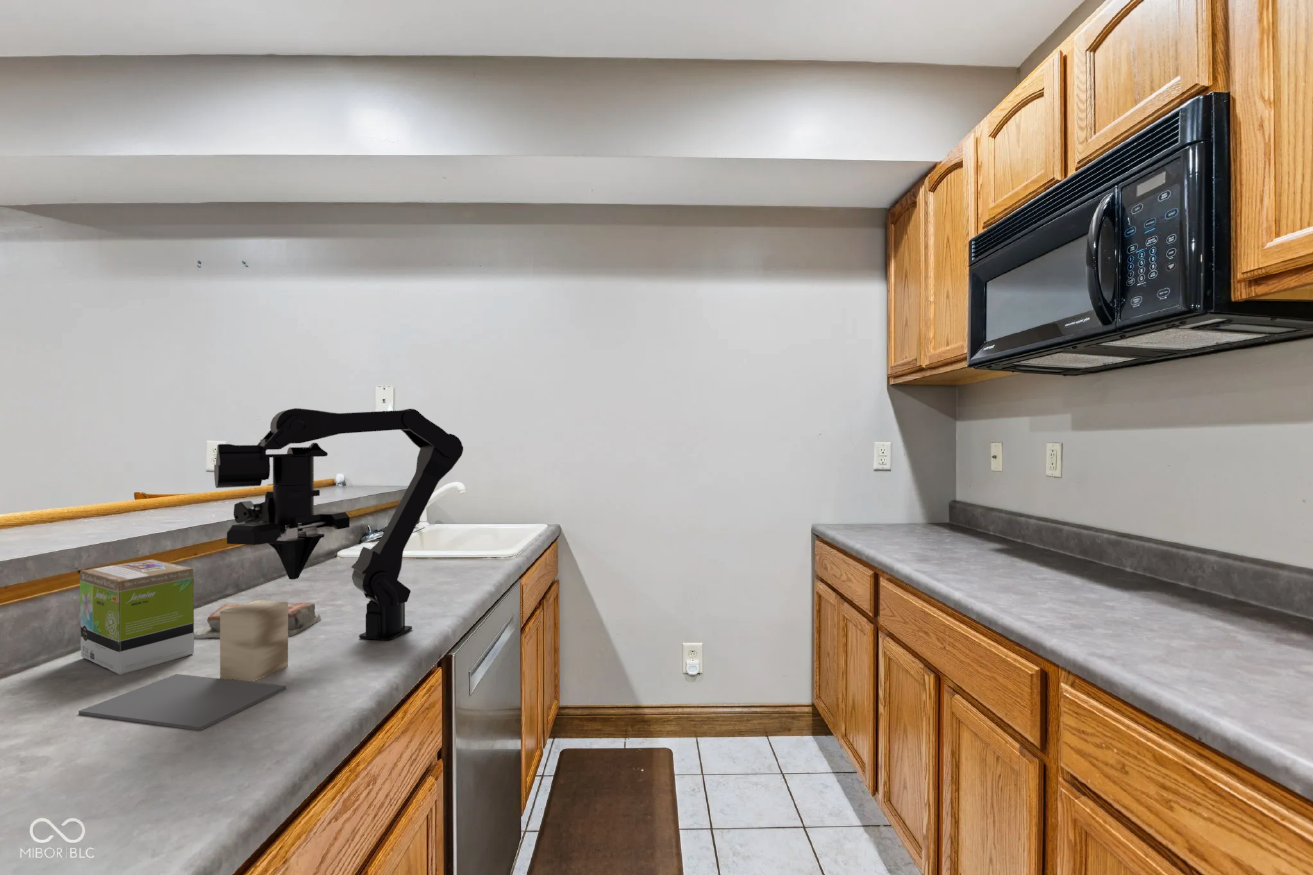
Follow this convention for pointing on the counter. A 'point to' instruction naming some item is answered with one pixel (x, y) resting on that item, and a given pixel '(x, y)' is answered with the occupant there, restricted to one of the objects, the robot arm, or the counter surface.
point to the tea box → (136, 614)
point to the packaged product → (297, 619)
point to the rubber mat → (184, 701)
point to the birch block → (253, 640)
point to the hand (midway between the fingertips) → (293, 578)
